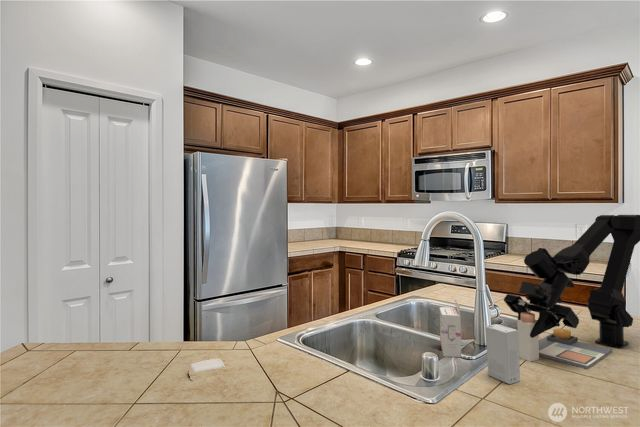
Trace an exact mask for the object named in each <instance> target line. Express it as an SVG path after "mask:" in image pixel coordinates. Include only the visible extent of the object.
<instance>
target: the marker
mask: <svg viewBox="0 0 640 427" xmlns="http://www.w3.org/2000/svg"><path fill="white" fill-rule="evenodd" d="M516 322H517V324H516V330H518V342H519V359H521V360H524V361H527V362H529V363H530V362H533V361H537V360H540V356H539V340H540V338H539V337H540V336H539V335H540V334H539V335H537V336H536V337H534V338H531V337H530V333H531V331H532V329H533V327H534V325H535V324H536V322H537V321H536V313H533V312H530V313H529V312H522V313H521V320H518V319H517V320H516Z"/></svg>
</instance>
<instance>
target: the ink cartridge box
mask: <svg viewBox="0 0 640 427" xmlns="http://www.w3.org/2000/svg"><path fill="white" fill-rule="evenodd" d="M454 303H455V304H454V305H455V307H450V306H448V307H447V306H446V307H444V306H443V307H442V306H441V307H440V306H439V329H440V330H439V333H440V334H439V337H440V340H439V342H440V344H439V345H440V348H441V351H442V355H443V357H447V358H450V357H452V358H453V357H454V358H461V357H462V331H461V328H462V327H461V323H462V322H461V311H460V303H459V302H458V300H457V298H456V297H454Z"/></svg>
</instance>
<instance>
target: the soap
mask: <svg viewBox="0 0 640 427" xmlns="http://www.w3.org/2000/svg"><path fill="white" fill-rule="evenodd" d="M190 367H191V370H192V371H193V372H199V371H204V370H211V369H217V368H222V367H225V364H224V362H223V361H222V360H221V359H220V358H219V357H218V358H217V357H216V358H211V359H206V360H201V361H200V360H199V361H195V362H191V363H190V364H189V368H190Z"/></svg>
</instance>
